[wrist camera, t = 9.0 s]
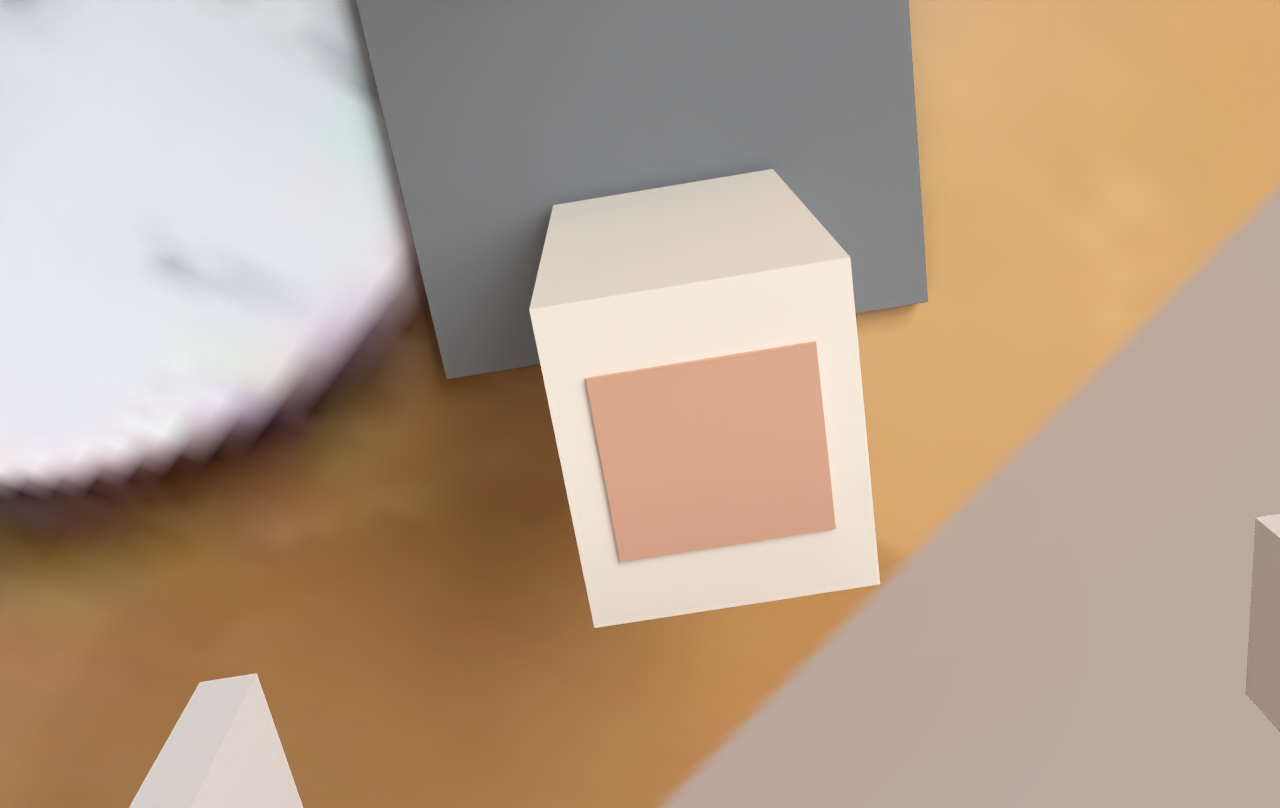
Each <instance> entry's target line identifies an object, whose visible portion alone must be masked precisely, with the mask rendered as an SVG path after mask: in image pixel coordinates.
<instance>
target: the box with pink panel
mask: <svg viewBox="0 0 1280 808" xmlns="http://www.w3.org/2000/svg"><path fill="white" fill-rule="evenodd" d="M529 311H530V316H531V321H532V326H533V331H534V335H535V340H536V345H537V350H538V355H539V360H540V365H541V370H542V374H543V379H544V384H545V389H546V394H547V399H548V404H549V409H550V414H551V418H552V423H553V428H554V433H555V438H556V443H557V448H558V453H559V457H560V462H561V467H562V472H563V477H564V482H565V487H566V492H567V497H568V501H569V506H570V511H571V516H572V521H573V526H574V531H575V536H576V540H577V545H578V550H579V555H580V560H581V565H582V570H583V575H584V580H585V584H586V589H587V594H588V599H589V604H590V609H591V614H592V619H593V623H594V628H598V627H604V626H611V625H617V624H624V623H630V622H637V621H643V620H650V619H656V618H663V617H669V616H676V615H682V614H689V613H696V612H702V611H709V610H715V609H722V608H728V607H735V606H741V605H748V604H754V603H761V602H767V601H774V600H780V599H787V598H793V597H800V596H806V595H813V594H819V593H826V592H832V591H839V590H845V589H852V588H858V587H865V586H871V585H878V584H880V578H879V567H878V556H877V545H876V534H875V523H874V512H873V501H872V490H871V479H870V468H869V457H868V446H867V435H866V424H865V413H864V402H863V391H862V380H861V369H860V358H859V347H858V336H857V325H856V314H855V302H854V291H853V280H852V269H851V258H850V256H849V255H848V254H847V253H846V252H845V251H844V249H843V248H842V247H841V246H840V245H839V244H838V243H837V241H836V240H835V239H834V238H833V237H832V236H831V235H830V233H829V232H828V231H827V230H826V229H825V228H824V227H823V225H822V224H821V223H820V222H819V221H818V220H817V219H816V218H815V216H814V215H813V214H812V213H811V212H810V211H809V210H808V208H807V207H806V206H805V205H804V204H803V203H802V202H801V200H800V199H799V198H798V197H797V196H796V195H795V194H794V192H793V191H792V190H791V189H790V188H789V187H788V186H787V184H786V183H785V182H784V181H783V180H782V179H781V178H780V177H779V175H778V174H777V173H776V172H775V171H774V170H773V169H769V170H763V171H757V172H751V173H745V174H739V175H733V176H727V177H720V178H714V179H708V180H702V181H696V182H690V183H684V184H678V185H672V186H666V187H660V188H654V189H648V190H642V191H636V192H630V193H624V194H618V195H612V196H606V197H600V198H594V199H588V200H582V201H576V202H569V203H563V204H557V205H553V208H552V213H551V217H550V221H549V226H548V230H547V234H546V239H545V243H544V247H543V252H542V256H541V261H540V265H539V269H538V274H537V278H536V282H535V287H534V291H533V295H532V300H531V304H530V308H529Z"/></svg>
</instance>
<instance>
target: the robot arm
mask: <svg viewBox="0 0 1280 808" xmlns="http://www.w3.org/2000/svg"><path fill="white" fill-rule="evenodd" d="M1251 589H1252V590H1251V606H1250V624H1249V625H1250V626H1249V642H1248V659H1247V678H1246V695H1247V696H1248V697H1249V698H1250V699H1251V700H1252V701H1253V702H1254V704H1255V705H1256V706H1257V707H1258V708H1259V709H1260V710H1261V711H1262V712H1263V714H1264V715H1265V716H1266V717H1267V718H1268V719H1269V720H1270V721H1271V722H1272V724H1273V725H1274V726H1275V727H1276V728H1277V729H1278V730H1279V731H1280V514H1276V515H1270V516H1263V517H1257V518H1255V535H1254V552H1253V571H1252V588H1251ZM129 808H303V806H302V803H301V800H300V797H299V794H298V791H297V788H296V785H295V783H294V780H293V777H292V774H291V771H290V768H289V765H288V762H287V759H286V757H285V754H284V751H283V748H282V745H281V742H280V739H279V736H278V733H277V731H276V728H275V725H274V722H273V719H272V716H271V713H270V710H269V708H268V705H267V702H266V699H265V696H264V693H263V690H262V687H261V684H260V682H259V679H258V676H257V673H255V674H249V675H243V676H236V677H230V678H223V679H217V680H211V681H204V682H200V683H199V685H198V686H197V688H196V690H195V692H194V693H193V695H192V697H191V699H190V701H189V702H188V704H187V706H186V708H185V709H184V711H183V713H182V715H181V716H180V718H179V720H178V722H177V724H176V725H175V727H174V729H173V731H172V732H171V734H170V736H169V738H168V739H167V741H166V743H165V745H164V746H163V748H162V750H161V752H160V754H159V755H158V757H157V759H156V761H155V762H154V764H153V766H152V768H151V769H150V771H149V773H148V775H147V777H146V778H145V780H144V782H143V784H142V785H141V787H140V789H139V791H138V792H137V794H136V796H135V798H134V800H133V801H132V803H131V805H130V807H129Z"/></svg>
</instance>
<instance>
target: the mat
mask: <svg viewBox="0 0 1280 808" xmlns="http://www.w3.org/2000/svg"><path fill="white" fill-rule="evenodd" d="M356 3H357V7H358V11H359V15H360V19H361V23H362V28H363V32H364V36H365V40H366V44H367V49H368V53H369V57H370V61H371V65H372V69H373V74H374V78H375V82H376V86H377V90H378V94H379V99H380V103H381V107H382V111H383V115H384V119H385V124H386V128H387V132H388V136H389V140H390V145H391V149H392V153H393V157H394V161H395V165H396V170H397V174H398V178H399V182H400V186H401V190H402V195H403V199H404V203H405V207H406V211H407V216H408V220H409V224H410V228H411V232H412V236H413V241H414V245H415V249H416V253H417V257H418V261H419V266H420V270H421V274H422V278H423V282H424V286H425V291H426V295H427V299H428V303H429V307H430V312H431V316H432V320H433V324H434V328H435V332H436V337H437V341H438V345H439V349H440V353H441V357H442V362H443V366H444V370H445V374H446V378H447V379H453V378H459V377H465V376H471V375H477V374H484V373H490V372H496V371H502V370H508V369H515V368H521V367H527V366H533V365H540V360H539V355H538V350H537V345H536V340H535V335H534V331H533V326H532V321H531V316H530V311H529V308H530V304H531V300H532V295H533V291H534V287H535V282H536V278H537V274H538V269H539V265H540V261H541V256H542V252H543V247H544V243H545V239H546V234H547V230H548V226H549V221H550V217H551V213H552V208H553V205H557V204H563V203H569V202H576V201H582V200H588V199H594V198H600V197H606V196H612V195H618V194H624V193H630V192H636V191H642V190H648V189H654V188H660V187H666V186H672V185H678V184H684V183H690V182H696V181H702V180H708V179H714V178H720V177H727V176H733V175H739V174H745V173H751V172H757V171H763V170H769V169H773V170H774V171H775V172H776V173H777V174H778V175H779V177H780V178H781V179H782V180H783V181H784V182H785V183H786V184H787V186H788V187H789V188H790V189H791V190H792V191H793V192H794V194H795V195H796V196H797V197H798V198H799V199H800V200H801V202H802V203H803V204H804V205H805V206H806V207H807V208H808V210H809V211H810V212H811V213H812V214H813V215H814V216H815V218H816V219H817V220H818V221H819V222H820V223H821V224H822V225H823V227H824V228H825V229H826V230H827V231H828V232H829V233H830V235H831V236H832V237H833V238H834V239H835V240H836V241H837V243H838V244H839V245H840V246H841V247H842V248H843V249H844V251H845V252H846V253H847V254H848V255H849V256H850V258H851V269H852V280H853V291H854V302H855V314H856V313H862V312H868V311H875V310H881V309H887V308H893V307H899V306H906V305H912V304H918V303H924V302H928V294H927V279H926V263H925V248H924V233H923V217H922V202H921V187H920V171H919V156H918V140H917V125H916V110H915V94H914V79H913V63H912V48H911V33H910V17H909V2H908V0H356Z"/></svg>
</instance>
